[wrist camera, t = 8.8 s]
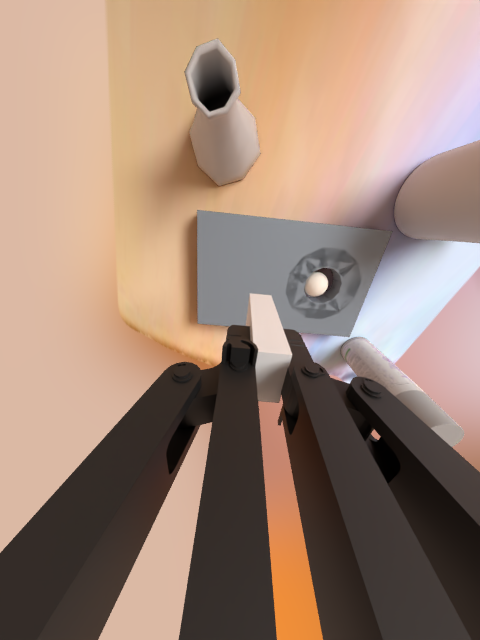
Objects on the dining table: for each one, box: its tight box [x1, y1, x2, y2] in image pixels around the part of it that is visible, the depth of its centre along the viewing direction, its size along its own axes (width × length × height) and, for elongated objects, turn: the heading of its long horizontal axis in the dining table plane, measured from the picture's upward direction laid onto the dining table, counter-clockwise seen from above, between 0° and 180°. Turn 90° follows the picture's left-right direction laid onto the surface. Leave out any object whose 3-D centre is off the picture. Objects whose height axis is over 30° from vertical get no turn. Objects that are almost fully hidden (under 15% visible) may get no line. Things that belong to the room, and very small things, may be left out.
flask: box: [185, 38, 261, 186], centre depth 16 cm, size 7×7×10 cm
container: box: [341, 337, 464, 447], centre depth 25 cm, size 5×5×15 cm
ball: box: [304, 272, 328, 296], centre depth 25 cm, size 3×3×3 cm
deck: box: [197, 210, 393, 337], centre depth 25 cm, size 14×22×2 cm, turn 85°
